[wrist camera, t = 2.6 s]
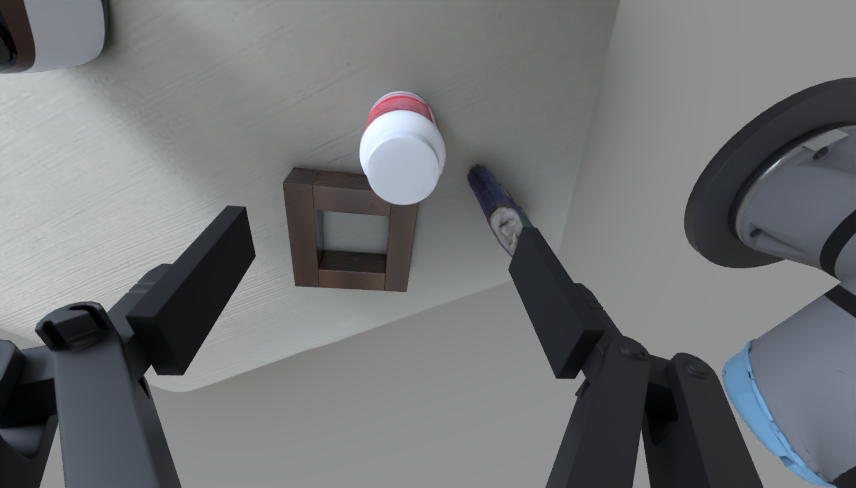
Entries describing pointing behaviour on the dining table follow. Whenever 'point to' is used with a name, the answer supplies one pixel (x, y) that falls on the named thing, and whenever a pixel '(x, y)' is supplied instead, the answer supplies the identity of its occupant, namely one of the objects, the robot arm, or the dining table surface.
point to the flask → (498, 208)
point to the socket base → (335, 268)
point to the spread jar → (50, 34)
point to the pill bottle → (402, 148)
